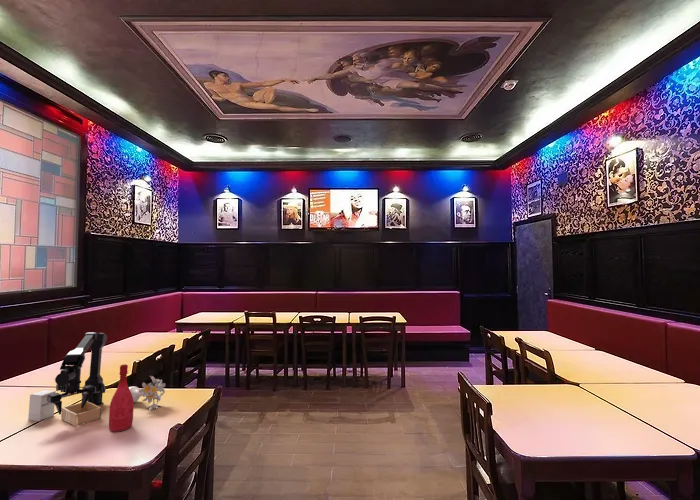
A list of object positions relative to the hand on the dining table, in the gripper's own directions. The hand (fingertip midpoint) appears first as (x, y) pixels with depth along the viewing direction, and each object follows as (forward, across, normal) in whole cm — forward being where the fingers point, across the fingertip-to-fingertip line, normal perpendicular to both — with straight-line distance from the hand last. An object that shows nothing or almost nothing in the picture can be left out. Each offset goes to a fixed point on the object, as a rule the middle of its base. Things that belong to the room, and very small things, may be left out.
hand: (71, 411), depth 174 cm
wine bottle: (+6, -11, +26) cm, 29 cm away
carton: (+6, -6, -2) cm, 8 cm away
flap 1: (+6, 0, -6) cm, 8 cm away
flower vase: (+6, -32, +6) cm, 33 cm away
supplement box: (+6, +5, -20) cm, 21 cm away
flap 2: (+6, 0, +2) cm, 6 cm away
